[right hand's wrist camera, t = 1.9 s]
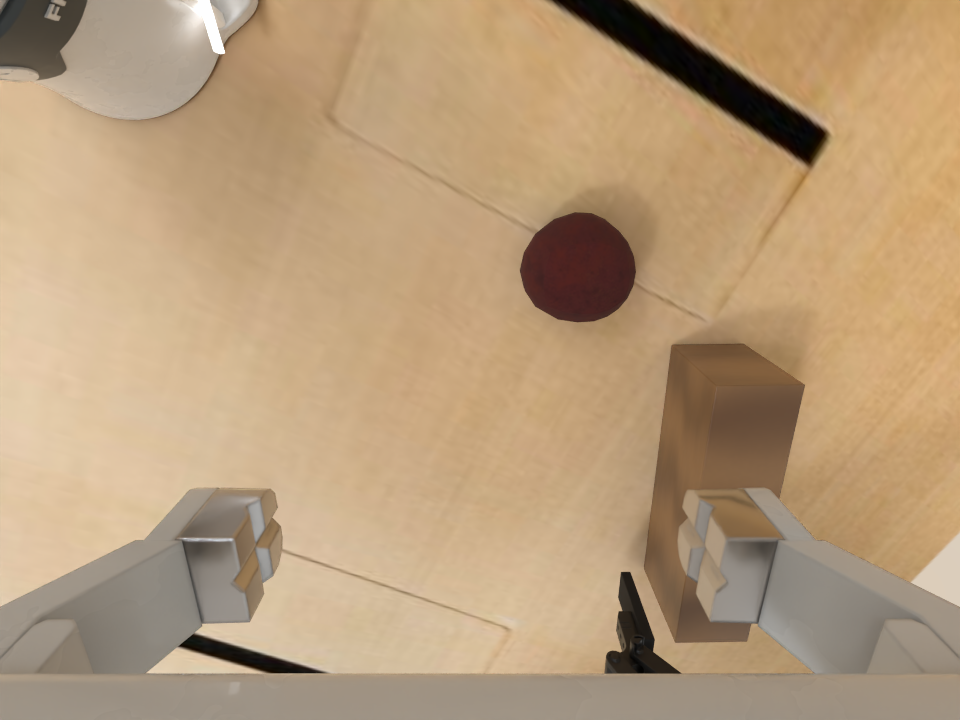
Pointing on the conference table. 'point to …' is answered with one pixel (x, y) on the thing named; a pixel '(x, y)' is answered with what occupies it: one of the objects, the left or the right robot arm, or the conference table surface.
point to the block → (714, 461)
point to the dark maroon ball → (578, 268)
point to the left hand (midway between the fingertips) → (705, 583)
